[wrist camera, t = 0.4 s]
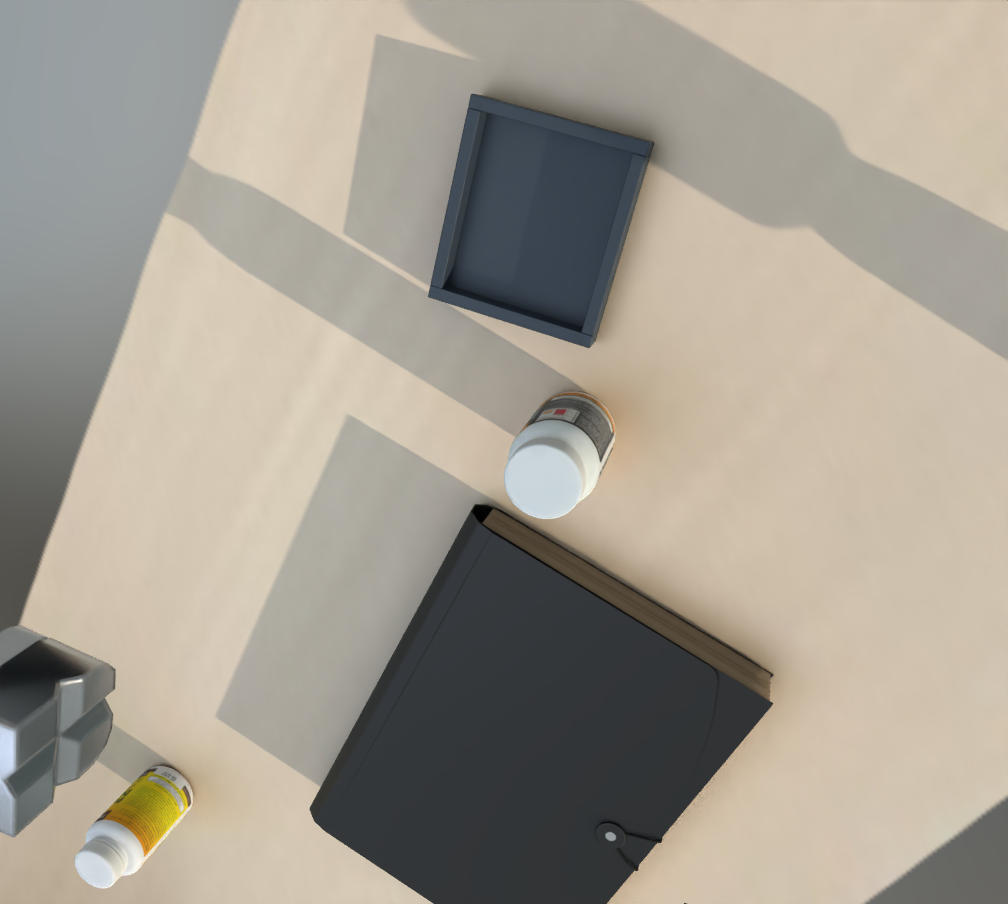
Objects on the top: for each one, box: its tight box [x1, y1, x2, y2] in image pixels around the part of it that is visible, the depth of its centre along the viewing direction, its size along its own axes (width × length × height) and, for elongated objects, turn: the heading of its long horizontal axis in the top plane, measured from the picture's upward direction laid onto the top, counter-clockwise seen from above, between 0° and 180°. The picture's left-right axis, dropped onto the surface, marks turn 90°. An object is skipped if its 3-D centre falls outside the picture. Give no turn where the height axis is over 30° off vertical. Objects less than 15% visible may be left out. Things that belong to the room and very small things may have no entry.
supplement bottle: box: [75, 766, 193, 888], centre depth 76 cm, size 6×6×10 cm
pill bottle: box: [504, 391, 615, 519], centre depth 54 cm, size 6×6×10 cm
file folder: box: [310, 504, 773, 904], centre depth 66 cm, size 33×4×24 cm
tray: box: [428, 94, 654, 348], centre depth 53 cm, size 13×11×2 cm
